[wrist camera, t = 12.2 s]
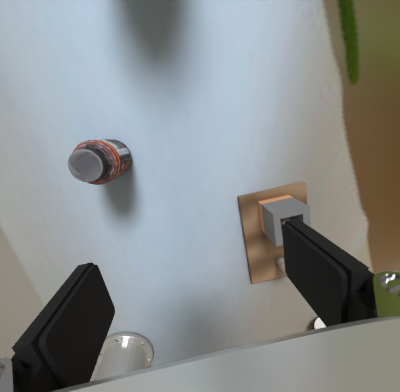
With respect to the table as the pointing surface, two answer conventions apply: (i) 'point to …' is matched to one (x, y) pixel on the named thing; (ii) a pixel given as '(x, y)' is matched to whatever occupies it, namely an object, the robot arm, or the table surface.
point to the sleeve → (281, 215)
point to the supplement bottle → (99, 161)
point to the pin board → (257, 240)
